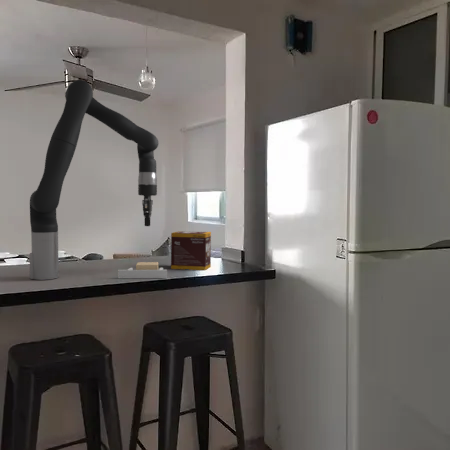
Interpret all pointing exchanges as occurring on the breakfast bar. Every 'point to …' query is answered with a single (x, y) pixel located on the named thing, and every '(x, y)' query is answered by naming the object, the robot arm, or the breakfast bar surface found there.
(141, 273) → the display stand
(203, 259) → the supplement box
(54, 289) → the breakfast bar surface
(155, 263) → the carton
